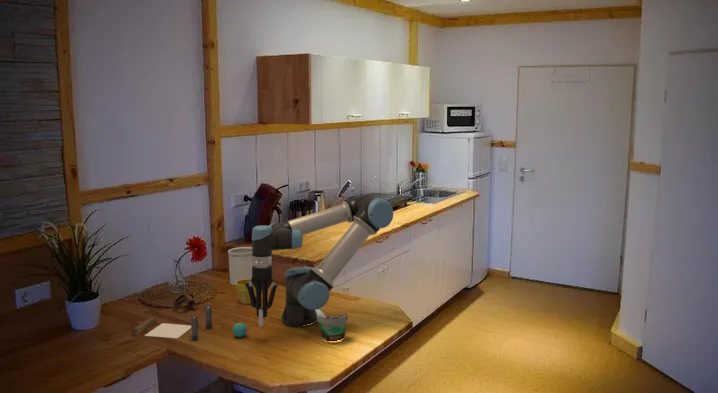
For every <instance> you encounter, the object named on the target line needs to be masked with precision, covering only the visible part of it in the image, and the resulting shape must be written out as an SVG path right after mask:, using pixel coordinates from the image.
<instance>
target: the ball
mask: <svg viewBox="0 0 718 393" xmlns="http://www.w3.org/2000/svg"><path fill="white" fill-rule="evenodd" d="M247 332H248V328H247V325H246V324H245V323H243V322H238V323H235V324H234V325H233V327H232V333H233V335H234V336H235V337H237V338H242V337H244V336H246V334H247Z"/></svg>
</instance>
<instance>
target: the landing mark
mask: <svg viewBox="0 0 718 393" xmlns="http://www.w3.org/2000/svg"><path fill="white" fill-rule="evenodd" d="M189 330H191V324H190V325H188V324H177V323H165V322H164V323H161V324H159V325H158V326H156V327H154V329H152V330H150V331H149V332H147V333H146V334H144V337H153V338H154V337H155V338H164V339H165V338H167V339H179V338H180V337H181V336H183V335H184V334H186V332H188V331H189Z"/></svg>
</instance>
